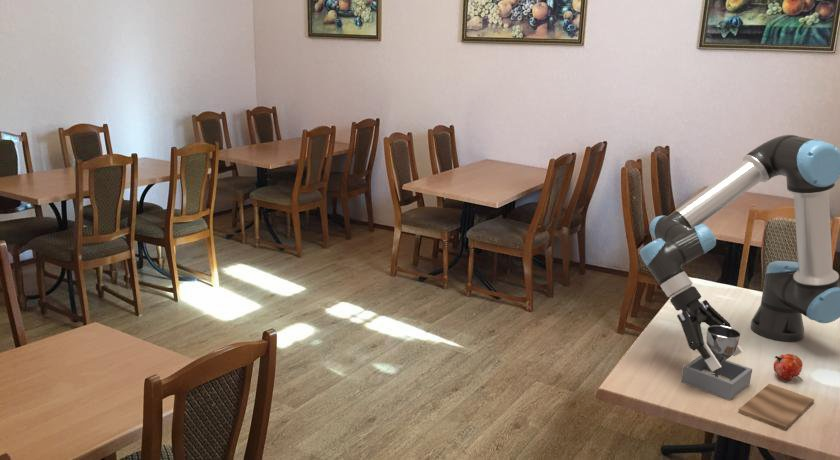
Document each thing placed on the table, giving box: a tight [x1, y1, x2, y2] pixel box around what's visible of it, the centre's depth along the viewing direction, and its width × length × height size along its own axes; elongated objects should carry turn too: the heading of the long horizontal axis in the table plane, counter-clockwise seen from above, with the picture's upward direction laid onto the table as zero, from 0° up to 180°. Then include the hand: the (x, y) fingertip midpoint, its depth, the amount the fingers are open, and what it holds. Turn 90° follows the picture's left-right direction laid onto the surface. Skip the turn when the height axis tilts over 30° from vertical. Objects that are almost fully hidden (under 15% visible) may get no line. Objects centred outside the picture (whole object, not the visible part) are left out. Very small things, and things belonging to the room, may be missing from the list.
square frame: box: [680, 354, 753, 401], centre depth 187 cm, size 13×13×4 cm
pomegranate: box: [773, 353, 803, 382], centre depth 191 cm, size 7×7×10 cm
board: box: [737, 383, 815, 431], centre depth 176 cm, size 20×11×1 cm, turn 134°
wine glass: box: [705, 325, 741, 378], centre depth 186 cm, size 8×8×15 cm
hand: (728, 361), depth 184 cm, fingers open, 13 cm apart
